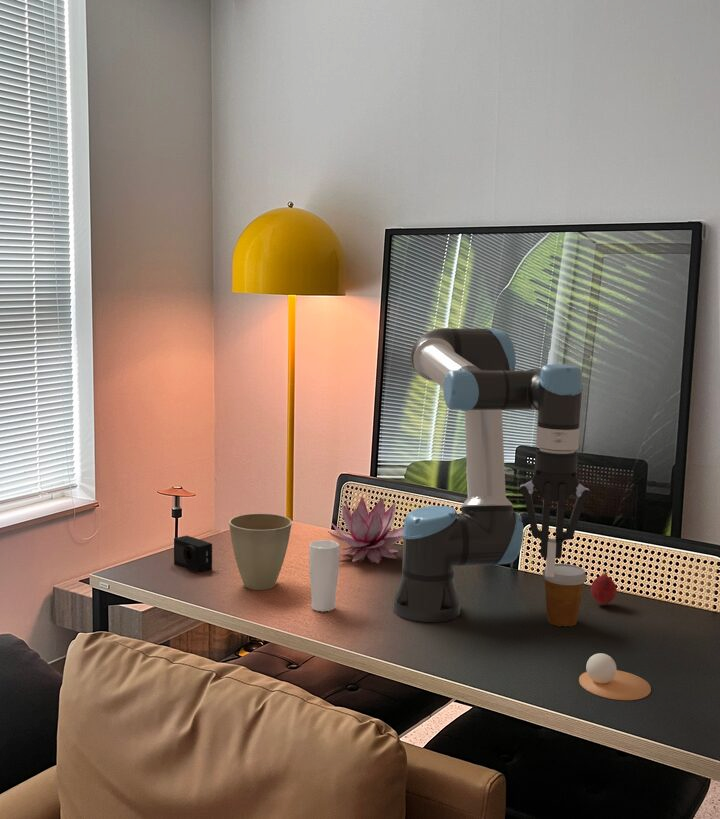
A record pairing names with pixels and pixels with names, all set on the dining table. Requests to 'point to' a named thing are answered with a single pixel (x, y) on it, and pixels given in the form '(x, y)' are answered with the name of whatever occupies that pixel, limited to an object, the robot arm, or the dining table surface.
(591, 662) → the ball
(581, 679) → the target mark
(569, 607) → the disposable coffee cup
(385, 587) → the dining table surface
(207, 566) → the digital camera
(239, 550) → the plant pot
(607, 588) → the red bumpy oval piece
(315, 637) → the dining table surface
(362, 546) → the decorative flower
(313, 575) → the drinking glass
